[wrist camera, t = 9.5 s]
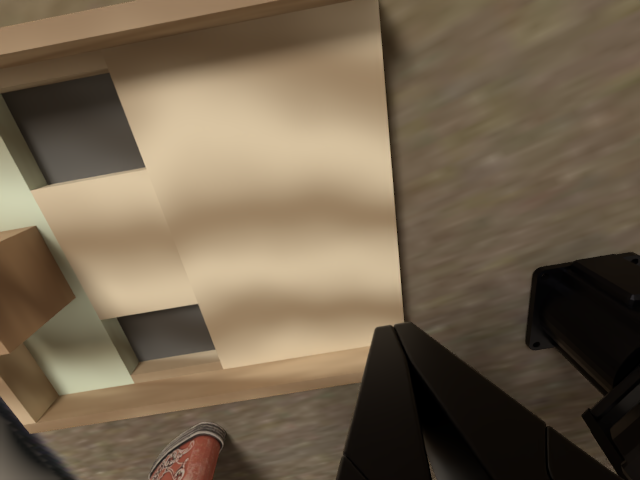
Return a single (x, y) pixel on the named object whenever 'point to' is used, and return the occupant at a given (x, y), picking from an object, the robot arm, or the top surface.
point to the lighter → (190, 454)
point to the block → (28, 286)
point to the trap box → (198, 202)
